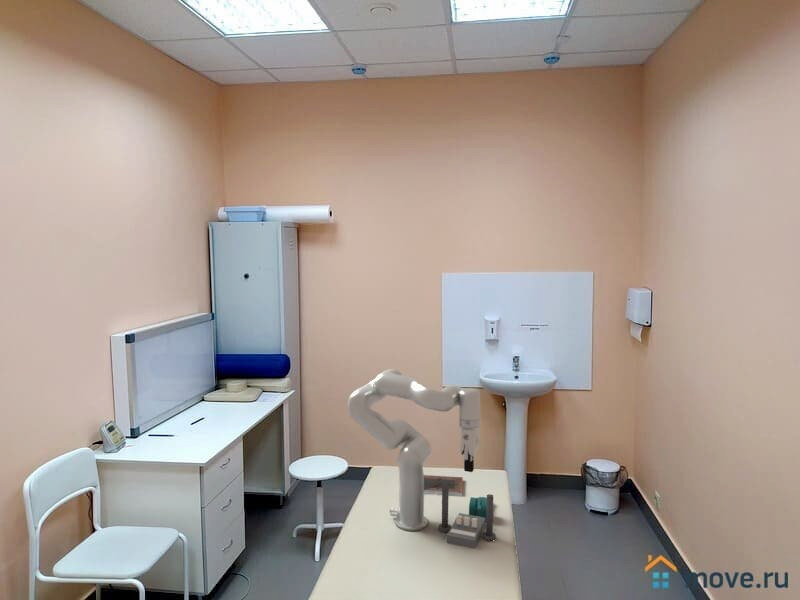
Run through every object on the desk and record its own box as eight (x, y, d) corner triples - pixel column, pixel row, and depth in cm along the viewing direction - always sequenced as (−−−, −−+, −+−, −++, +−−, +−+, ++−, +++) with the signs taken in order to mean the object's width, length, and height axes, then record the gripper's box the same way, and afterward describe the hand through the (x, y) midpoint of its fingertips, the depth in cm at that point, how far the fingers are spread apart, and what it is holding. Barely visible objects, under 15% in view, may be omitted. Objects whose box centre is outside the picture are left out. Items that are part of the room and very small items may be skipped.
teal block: (485, 523, 218) (486, 504, 217) (468, 520, 220) (469, 501, 219) (492, 503, 235) (492, 485, 234) (476, 501, 237) (476, 483, 236)
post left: (436, 531, 211) (437, 490, 209) (440, 525, 215) (440, 484, 214) (449, 533, 209) (450, 492, 207) (452, 527, 214) (453, 486, 212)
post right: (480, 540, 205) (481, 497, 203) (483, 533, 209) (484, 491, 208) (494, 542, 203) (495, 499, 201) (497, 536, 208) (498, 494, 206)
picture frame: (412, 494, 244) (461, 497, 241) (412, 489, 243) (462, 492, 241) (415, 479, 260) (462, 482, 257) (415, 474, 260) (462, 476, 257)
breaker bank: (456, 524, 210) (456, 516, 209) (457, 522, 211) (457, 515, 211) (476, 527, 207) (476, 520, 207) (477, 526, 208) (477, 518, 208)
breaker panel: (446, 542, 203) (446, 534, 202) (459, 520, 219) (459, 512, 219) (474, 548, 199) (474, 539, 199) (485, 525, 216) (485, 517, 215)
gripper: (474, 429, 197) (474, 480, 198) (483, 417, 211) (483, 464, 212) (454, 427, 199) (453, 477, 201) (464, 415, 213) (464, 462, 215)
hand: (468, 470), depth 207 cm, fingers closed
